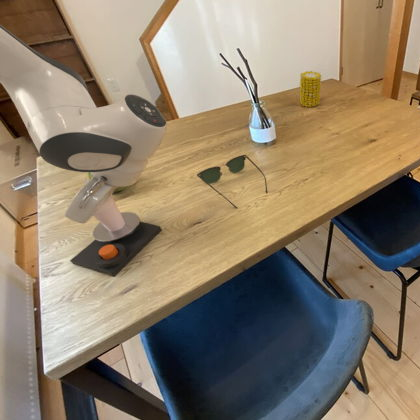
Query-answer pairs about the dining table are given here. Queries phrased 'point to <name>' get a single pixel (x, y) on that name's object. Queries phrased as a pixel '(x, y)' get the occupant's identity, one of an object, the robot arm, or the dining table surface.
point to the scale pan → (111, 236)
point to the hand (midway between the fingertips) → (96, 201)
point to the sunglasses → (214, 173)
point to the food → (310, 88)
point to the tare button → (108, 252)
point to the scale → (125, 248)
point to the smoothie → (109, 214)
